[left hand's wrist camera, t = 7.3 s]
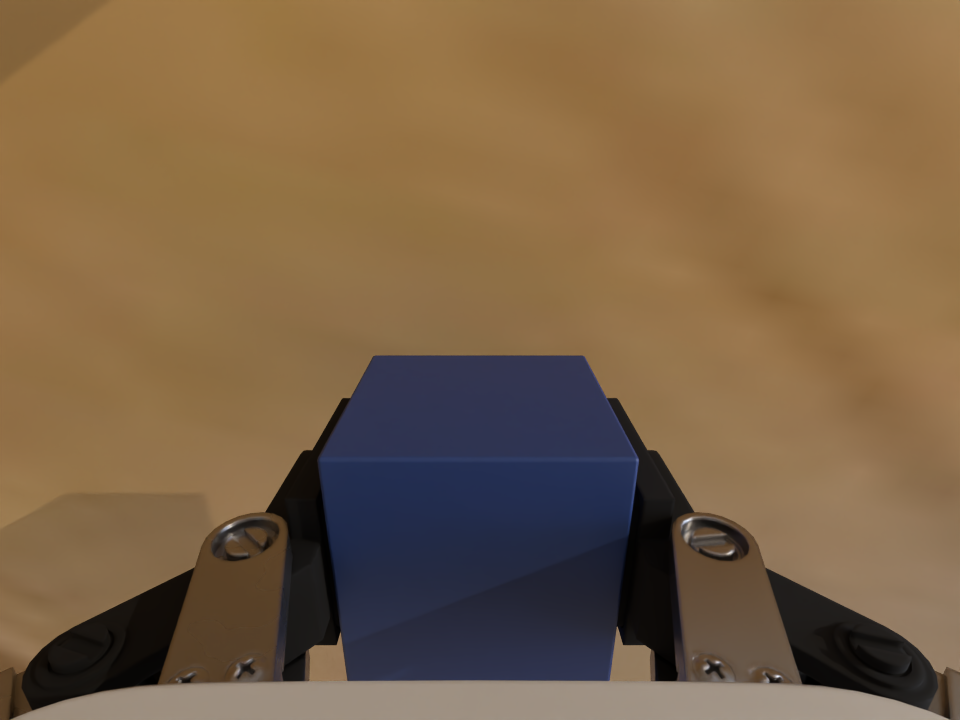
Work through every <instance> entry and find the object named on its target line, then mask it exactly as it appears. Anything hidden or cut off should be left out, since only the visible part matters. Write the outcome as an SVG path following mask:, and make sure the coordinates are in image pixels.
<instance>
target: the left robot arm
mask: <svg viewBox="0 0 960 720" xmlns="http://www.w3.org/2000/svg"><path fill="white" fill-rule="evenodd" d="M349 400H350V398H343V399H342V400H341V402H340V403H339V405H338V407H337V409H336V410H335V412H334V414H333V415H332V417H331V419H330V421H329V422H328V424H327V426H326V428H325V429H324V431H323V433H322V435H321V436H320V438H319V440H318V442H317V443H316V445H315V447H314V448H313V450H306V451H303V452H302V453H301V454H300V456H299V458H298V459H297V461H296V463H295V464H294V466H293V467H292V469H291V471H290V472H289V474H288V476H287V477H286V479H285V481H284V482H283V484H282V486H281V487H280V489H279V490H278V492H277V494H276V495H275V497H274V499H273V500H272V502H271V504H270V505H269V507H268V509H267V510H266V512H260V513H250V514H246V515H242V516H238V517H236V518H233V519H231V520H229V521H226V522H225V523H223V524H222V525H220V526H218V527H217V528H215V529H214V530H213V531H212V532H211V533H210V534H209V535H208V536H207V537H206V539H205V541H204V543H203V544H202V547H201V550H200V553H199V556H198V559H197V562H196V565H195V568H193V569H191V570H189V571H187V572H185V573H183V574H181V575H179V576H177V577H175V578H173V579H171V580H168V581H166V582H164V583H162V584H160V585H158V586H156V587H154V588H152V589H150V590H148V591H146V592H144V593H142V594H140V595H138V596H136V597H134V598H132V599H130V600H128V601H126V602H124V603H122V604H120V605H118V606H116V607H114V608H111V609H109V610H107V611H105V612H103V613H101V614H99V615H97V616H95V617H93V618H91V619H89V620H87V621H85V622H83V623H81V624H79V625H77V626H75V627H73V628H71V629H70V630H68V631H66V632H64V633H63V634H61V635H59V636H58V637H56V638H55V639H54V640H53V641H51V642H50V643H49V644H47V645H46V646H45V647H44V648H42V649H41V651H40V652H39V653H38V654H37V655H36V656H35V657H34V658H33V660H32V661H31V662H30V663H29V665H28V667H27V669H26V671H24V672H21V673H19V674H16V672H15V670H14V668H13V667H12V668H9V669H7V670H5V671H2V672H0V720H960V672H957V671H955V670H953V669H951V668H948V667H946V669H945V671H944V674H941V673H939V672H936V671H934V669H933V668H932V666H931V664H930V662H929V661H928V660H927V659H926V658H925V656H924V655H923V654H922V653H921V652H920V651H919V650H918V649H917V648H916V647H915V646H914V645H912V644H911V643H910V642H908V641H907V640H906V639H905V638H903V637H902V636H900V635H899V634H897V633H895V632H894V631H892V630H890V629H888V628H887V627H885V626H883V625H881V624H879V623H877V622H875V621H873V620H871V619H869V618H867V617H865V616H863V615H861V614H859V613H856V612H854V611H852V610H850V609H848V608H846V607H844V606H842V605H840V604H838V603H836V602H834V601H832V600H830V599H828V598H826V597H824V596H822V595H820V594H818V593H816V592H814V591H812V590H810V589H808V588H806V587H804V586H801V585H799V584H797V583H795V582H793V581H791V580H789V579H787V578H785V577H783V576H781V575H779V574H777V573H775V572H773V571H771V570H769V569H767V568H765V565H764V562H763V559H762V556H761V553H760V550H759V547H758V544H757V543H756V541H755V539H754V537H753V536H752V535H751V534H750V533H749V532H748V531H747V530H746V529H745V528H743V527H742V526H740V525H738V524H737V523H735V522H734V521H731V520H729V519H727V518H724V517H722V516H718V515H714V514H710V513H700V512H694V511H693V509H692V507H691V506H690V504H689V502H688V501H687V499H686V497H685V496H684V494H683V493H682V491H681V489H680V488H679V486H678V484H677V483H676V481H675V479H674V478H673V476H672V474H671V473H670V471H669V470H668V468H667V466H666V465H665V463H664V461H663V460H662V458H661V456H660V455H659V454H658V452H657V451H654V450H647V449H646V447H645V445H644V444H643V442H642V440H641V439H640V437H639V435H638V433H637V432H636V430H635V428H634V426H633V425H632V423H631V421H630V419H629V418H628V416H627V414H626V412H625V411H624V409H623V407H622V406H621V404H620V402H619V400H618V399H617V398H607V400H608V402H609V404H610V406H611V407H612V409H613V411H614V413H615V415H616V417H617V419H618V421H619V423H620V424H621V426H622V428H623V430H624V432H625V434H626V436H627V438H628V440H629V441H630V443H631V445H632V447H633V449H634V451H635V453H636V455H637V457H638V459H639V464H638V471H637V479H636V486H635V494H634V501H633V509H632V516H631V523H630V531H629V538H628V546H627V553H626V561H625V568H624V576H623V583H622V591H621V598H620V606H619V613H618V621H617V626H618V629H619V632H620V636H621V639H622V643H623V645H646V646H647V647H649V648H650V649H651V655H650V670H651V681H510V680H450V681H309V670H310V655H309V649H310V648H311V647H313V646H314V645H337V642H338V638H339V635H340V632H341V630H340V622H339V615H338V608H337V600H336V593H335V586H334V579H333V571H332V564H331V557H330V549H329V542H328V535H327V527H326V520H325V513H324V506H323V498H322V491H321V484H320V476H319V469H318V462H317V460H318V457H319V455H320V453H321V451H322V450H323V448H324V446H325V444H326V442H327V440H328V439H329V437H330V435H331V433H332V431H333V429H334V428H335V426H336V424H337V422H338V420H339V418H340V417H341V415H342V413H343V411H344V409H345V407H346V405H347V404H348V402H349Z"/></svg>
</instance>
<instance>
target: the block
mask: <svg viewBox="0 0 960 720" xmlns="http://www.w3.org/2000/svg"><path fill="white" fill-rule="evenodd" d="M317 462H318V469H319V476H320V484H321V491H322V498H323V506H324V513H325V520H326V527H327V535H328V542H329V549H330V557H331V564H332V571H333V579H334V586H335V593H336V600H337V608H338V615H339V622H340V630H341V637H342V644H343V652H344V659H345V666H346V673H347V681H450V680H510V681H609V680H610V673H611V665H612V658H613V650H614V643H615V636H616V628H617V621H618V613H619V606H620V598H621V591H622V583H623V576H624V568H625V561H626V553H627V546H628V538H629V531H630V523H631V516H632V509H633V501H634V494H635V486H636V479H637V471H638V464H639V459H638V457H637V455H636V453H635V451H634V449H633V447H632V445H631V443H630V441H629V440H628V438H627V436H626V434H625V432H624V430H623V428H622V426H621V424H620V423H619V421H618V419H617V417H616V415H615V413H614V411H613V409H612V407H611V406H610V404H609V402H608V400H607V398H606V396H605V394H604V392H603V391H602V389H601V387H600V385H599V383H598V381H597V379H596V377H595V375H594V374H593V372H592V370H591V368H590V366H589V364H588V362H587V360H586V358H585V357H584V356H373V358H372V360H371V361H370V363H369V365H368V367H367V369H366V371H365V372H364V374H363V376H362V378H361V380H360V382H359V383H358V385H357V387H356V389H355V391H354V393H353V394H352V396H351V398H350V400H349V402H348V404H347V405H346V407H345V409H344V411H343V413H342V415H341V417H340V418H339V420H338V422H337V424H336V426H335V428H334V429H333V431H332V433H331V435H330V437H329V439H328V440H327V442H326V444H325V446H324V448H323V450H322V451H321V453H320V455H319V457H318V460H317Z"/></svg>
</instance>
